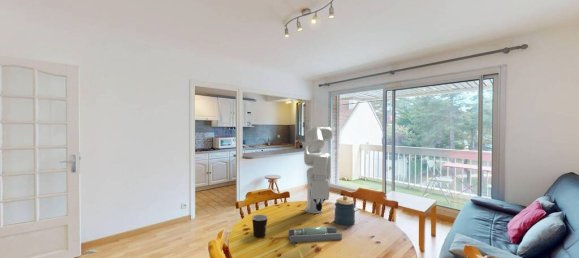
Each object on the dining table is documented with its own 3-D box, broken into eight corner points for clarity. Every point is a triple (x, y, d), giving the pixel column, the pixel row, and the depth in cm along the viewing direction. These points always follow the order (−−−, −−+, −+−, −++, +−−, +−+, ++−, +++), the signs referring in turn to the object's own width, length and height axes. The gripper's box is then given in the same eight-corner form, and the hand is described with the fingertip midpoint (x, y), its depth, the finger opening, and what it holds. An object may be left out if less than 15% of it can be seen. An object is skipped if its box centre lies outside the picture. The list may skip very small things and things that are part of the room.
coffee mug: (260, 240, 128) (260, 221, 128) (248, 236, 132) (248, 218, 132) (273, 232, 138) (273, 215, 138) (261, 228, 142) (261, 212, 142)
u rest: (288, 236, 133) (288, 229, 133) (335, 233, 138) (336, 226, 138) (291, 244, 124) (291, 236, 124) (341, 240, 129) (341, 233, 129)
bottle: (324, 234, 135) (293, 236, 131) (324, 224, 135) (293, 226, 132) (327, 238, 130) (295, 240, 126) (327, 228, 130) (295, 230, 127)
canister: (359, 224, 151) (360, 197, 151) (344, 229, 144) (344, 200, 144) (344, 217, 162) (345, 192, 162) (330, 221, 155) (330, 194, 155)
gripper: (308, 179, 126) (307, 213, 126) (334, 178, 128) (334, 212, 129) (304, 176, 133) (304, 208, 134) (330, 175, 136) (329, 207, 136)
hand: (318, 210), depth 131 cm, fingers closed
